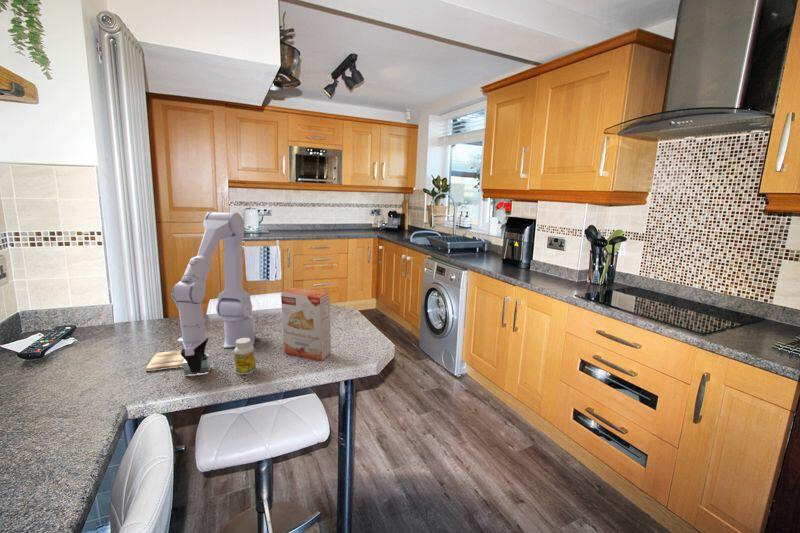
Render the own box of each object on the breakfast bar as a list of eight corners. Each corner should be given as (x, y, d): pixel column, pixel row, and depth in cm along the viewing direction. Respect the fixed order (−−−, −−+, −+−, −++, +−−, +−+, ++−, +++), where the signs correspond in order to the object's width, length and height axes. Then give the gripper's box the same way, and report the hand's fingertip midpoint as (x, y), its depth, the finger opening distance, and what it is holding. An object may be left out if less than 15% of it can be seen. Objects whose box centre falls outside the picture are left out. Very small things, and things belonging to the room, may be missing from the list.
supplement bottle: (256, 365, 113) (254, 335, 111) (254, 374, 108) (251, 343, 106) (237, 367, 112) (234, 337, 110) (234, 376, 107) (231, 345, 105)
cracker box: (283, 354, 121) (279, 291, 116) (294, 346, 126) (291, 286, 121) (321, 362, 116) (319, 297, 111) (331, 353, 122) (329, 291, 117)
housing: (210, 367, 112) (209, 353, 111) (208, 374, 108) (206, 359, 107) (188, 370, 110) (186, 355, 109) (184, 377, 106) (182, 362, 105)
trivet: (192, 352, 121) (191, 348, 120) (185, 367, 111) (185, 363, 111) (156, 356, 118) (155, 352, 117) (146, 372, 108) (145, 368, 108)
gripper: (182, 315, 111) (187, 357, 114) (169, 335, 98) (175, 382, 101) (208, 313, 113) (213, 355, 116) (199, 332, 100) (205, 378, 103)
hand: (197, 367), depth 109 cm, fingers closed on housing, 4 cm apart
